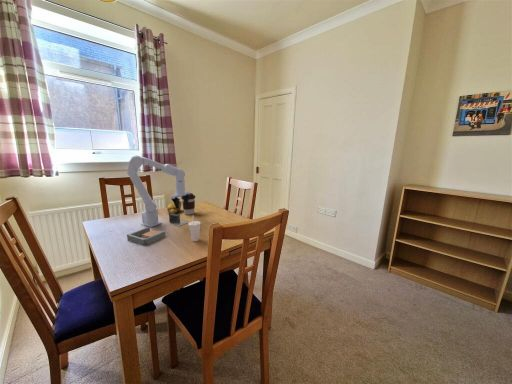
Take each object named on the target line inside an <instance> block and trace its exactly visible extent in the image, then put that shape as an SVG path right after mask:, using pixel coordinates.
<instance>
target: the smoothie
mask: <svg viewBox="0 0 512 384" xmlns="http://www.w3.org/2000/svg"><path fill="white" fill-rule="evenodd" d="M187 224H188V225H187V226H188V227H189V233H190V236H191V241H192V242H198V241H200V231H201V221H198V220H195V216H194V214H192V221H190V222H188V223H187Z"/></svg>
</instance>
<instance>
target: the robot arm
mask: <svg viewBox="0 0 512 384" xmlns="http://www.w3.org/2000/svg"><path fill="white" fill-rule="evenodd" d="M142 165H143V167H144V166H151V167H153V168H157V169H160V170H161V171H162V173H165V174H167V175H169V176H170V175H171V176H173V177H174V176H175V181H174V182H175V193H174V194H172V195H171V196H170V197H171V198H170V199H171V201H172V203H174V204H175V207H176V208H179V201H181V196H182V197H183V200H184V205H185V206H187V204H188V200H189V198H190V195H189V194H190V193H191V192H190V191H186V184H185V182H186V181H185V176H186V173H185V171H184V170H183V169H182V168H179V167H178V166H174V165H172V164H171V163H165V164H162V163H160V162H158V161H155V160H153V159H151V158H147V157H143V156H141V155H140V156H139V155H133V156H132V157H131V159H130V160H129V162H128V166H127V175H128V177H129V179H130V181H131V183H132V184H133V185H134V188H135V189H136V190H137V192H138V194H139V196H140V198H141V200H142V202H143V204H144V207H145V210H143V211H142V213H141V220H142V221H141V222H142V223H141V225H142V226H146V227H149V228H152V227H153V228H154V227H155V226H158V225H161V224H162V221H161V222H160V221H159V212H158V208H157V203H156V201H155V200H154V199H153V198H152V197H151V195H150V194H149V192H148V190H147V188H146V187H145V184H144V183H143V181H142V179H141V178H140V176H139V174H138V171H139V169H140V168H141V167H142Z"/></svg>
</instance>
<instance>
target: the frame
mask: <svg viewBox="0 0 512 384" xmlns="http://www.w3.org/2000/svg"><path fill="white" fill-rule="evenodd" d="M150 228H151V227H149V226H146V227H143V228H141V229H138V230H136V231H133V232H131V233H128V234H126V237H127V238H126V239H127V241H130V242H133V243H135V244H136V243H137V244H139V245H142V246H148V245H149V244H152V243H153V242H156V241H158V240H161V239H163V238H165V237H166V236H167V235H166V231H165V230H163V231H159V232H160V233H158V234H155V235H153V236H151V237H148V238H144V237H142V234H145V233H147V232H149V231H151V230H150ZM140 236H141V237H140Z"/></svg>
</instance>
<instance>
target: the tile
mask: <svg viewBox="0 0 512 384" xmlns="http://www.w3.org/2000/svg"><path fill="white" fill-rule="evenodd" d="M160 232H161V231H158V230H155V229H154V230H153V229H151V230H150V231H149V232H147V233H145V234H142V235H141V238H144V239H146V238H148V237H151V236H153V235H155V234H158V233H160Z"/></svg>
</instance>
